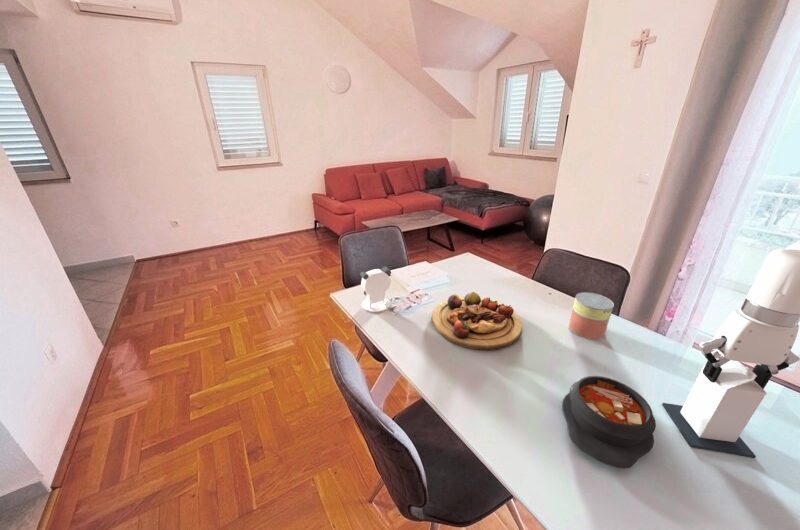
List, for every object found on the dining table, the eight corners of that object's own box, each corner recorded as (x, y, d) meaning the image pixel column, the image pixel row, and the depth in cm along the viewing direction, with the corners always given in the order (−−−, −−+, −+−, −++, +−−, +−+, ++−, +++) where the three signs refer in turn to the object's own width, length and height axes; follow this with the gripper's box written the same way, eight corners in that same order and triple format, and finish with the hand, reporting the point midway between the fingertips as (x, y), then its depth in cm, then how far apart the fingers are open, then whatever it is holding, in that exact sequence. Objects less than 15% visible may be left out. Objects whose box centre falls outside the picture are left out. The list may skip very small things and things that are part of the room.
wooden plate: (483, 366, 93) (486, 343, 90) (413, 319, 116) (413, 300, 113) (539, 326, 112) (543, 306, 108) (469, 292, 134) (471, 275, 131)
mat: (716, 412, 78) (717, 410, 78) (755, 458, 67) (756, 456, 67) (661, 404, 80) (662, 402, 80) (690, 446, 70) (691, 445, 69)
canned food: (607, 343, 103) (617, 312, 98) (569, 335, 107) (577, 305, 102) (601, 324, 113) (610, 295, 108) (566, 318, 117) (574, 289, 112)
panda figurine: (383, 294, 133) (382, 262, 127) (396, 306, 124) (396, 272, 118) (357, 301, 128) (355, 268, 122) (369, 315, 119) (367, 279, 113)
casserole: (571, 377, 89) (578, 353, 86) (652, 410, 79) (664, 385, 75) (548, 440, 71) (555, 414, 68) (649, 494, 61) (663, 466, 57)
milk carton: (699, 438, 71) (735, 374, 63) (679, 412, 77) (710, 351, 70) (735, 443, 70) (776, 378, 62) (712, 416, 76) (746, 354, 68)
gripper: (806, 307, 62) (765, 374, 69) (704, 298, 66) (675, 363, 73) (846, 328, 56) (796, 401, 63) (730, 317, 59) (695, 387, 66)
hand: (731, 380), depth 68 cm, fingers open, 8 cm apart
